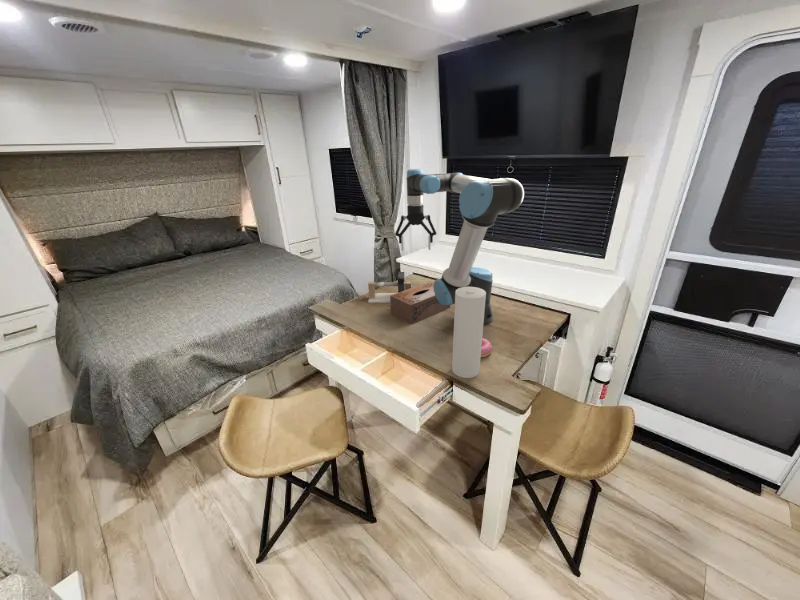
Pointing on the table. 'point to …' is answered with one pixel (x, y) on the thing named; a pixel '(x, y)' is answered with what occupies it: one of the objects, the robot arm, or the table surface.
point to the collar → (401, 282)
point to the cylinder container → (468, 331)
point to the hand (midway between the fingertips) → (415, 249)
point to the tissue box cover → (416, 303)
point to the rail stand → (383, 296)
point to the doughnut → (485, 348)
